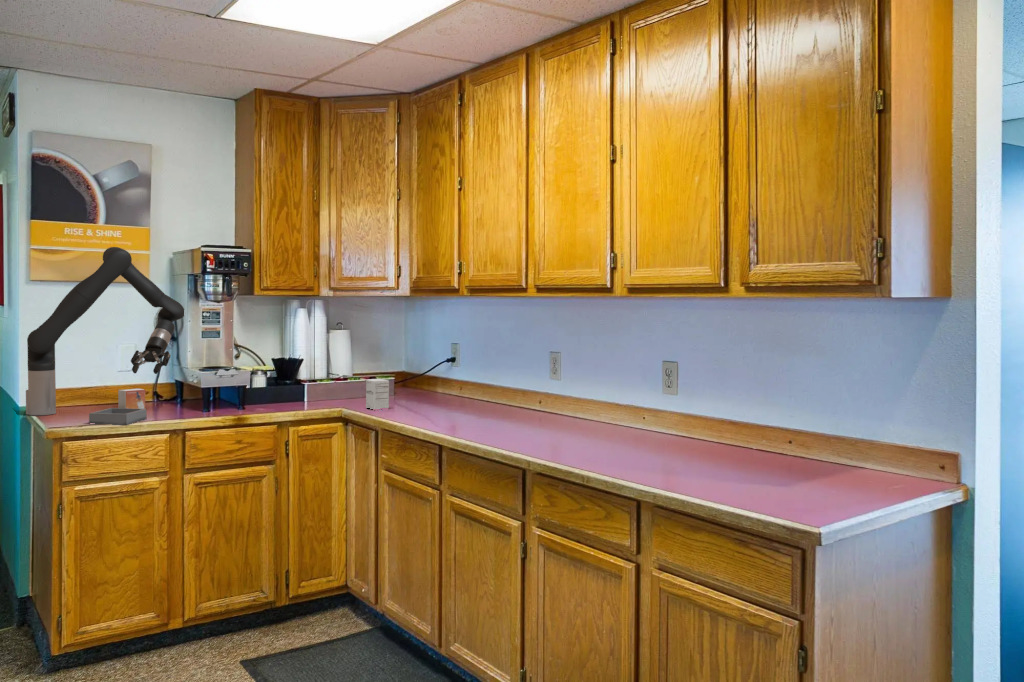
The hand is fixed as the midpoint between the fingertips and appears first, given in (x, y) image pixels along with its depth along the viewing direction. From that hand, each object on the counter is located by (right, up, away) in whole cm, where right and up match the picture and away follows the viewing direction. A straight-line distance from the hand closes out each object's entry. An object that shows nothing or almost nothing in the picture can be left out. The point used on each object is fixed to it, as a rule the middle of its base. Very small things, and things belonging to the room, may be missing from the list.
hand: (144, 372), depth 320 cm
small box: (-1, -17, -9) cm, 19 cm away
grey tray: (0, -17, -22) cm, 28 cm away
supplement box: (+89, -17, +21) cm, 93 cm away
